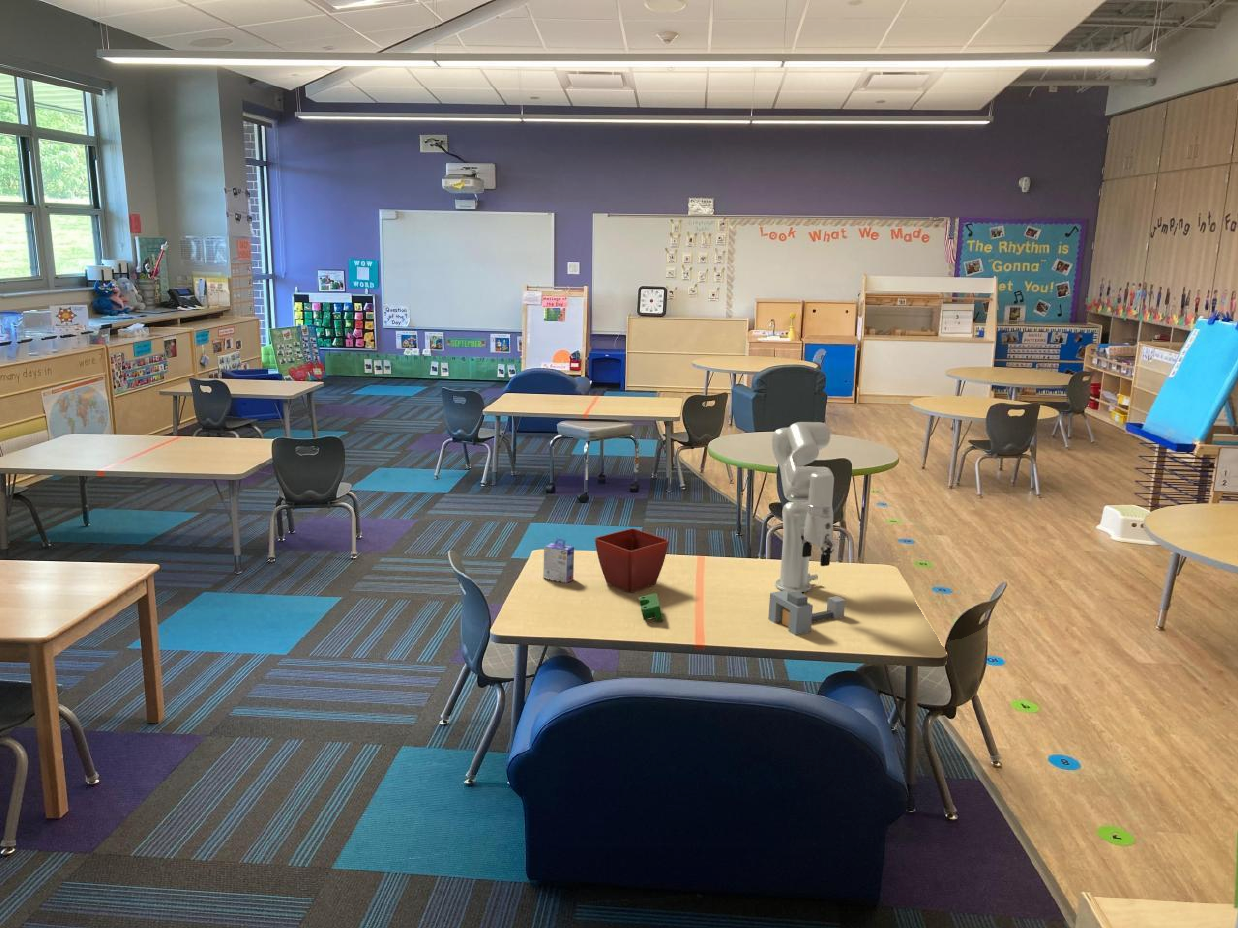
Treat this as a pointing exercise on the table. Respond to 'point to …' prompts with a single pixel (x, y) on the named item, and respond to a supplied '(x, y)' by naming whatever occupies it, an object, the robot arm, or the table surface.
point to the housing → (791, 610)
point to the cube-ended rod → (833, 611)
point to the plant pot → (631, 558)
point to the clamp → (650, 607)
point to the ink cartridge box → (558, 562)
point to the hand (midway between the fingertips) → (815, 560)
